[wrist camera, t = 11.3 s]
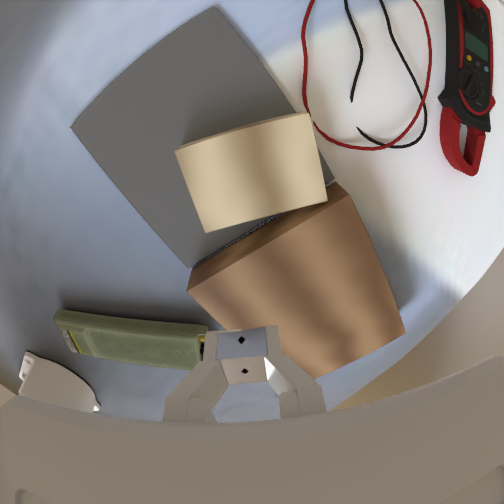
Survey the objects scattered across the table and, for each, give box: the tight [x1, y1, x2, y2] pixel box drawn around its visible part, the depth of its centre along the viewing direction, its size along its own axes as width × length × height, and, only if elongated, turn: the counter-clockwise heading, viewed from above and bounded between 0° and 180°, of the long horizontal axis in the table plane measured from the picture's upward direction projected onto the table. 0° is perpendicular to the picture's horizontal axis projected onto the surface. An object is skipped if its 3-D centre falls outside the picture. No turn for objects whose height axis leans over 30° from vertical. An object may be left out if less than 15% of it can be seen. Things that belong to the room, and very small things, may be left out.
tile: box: [174, 112, 328, 233], centre depth 21 cm, size 10×7×2 cm
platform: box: [187, 182, 406, 379], centre depth 28 cm, size 16×20×4 cm
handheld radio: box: [54, 309, 209, 370], centre depth 31 cm, size 7×3×25 cm
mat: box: [70, 6, 335, 268], centre depth 21 cm, size 16×18×1 cm
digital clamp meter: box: [301, 0, 495, 176], centre depth 14 cm, size 23×4×25 cm
